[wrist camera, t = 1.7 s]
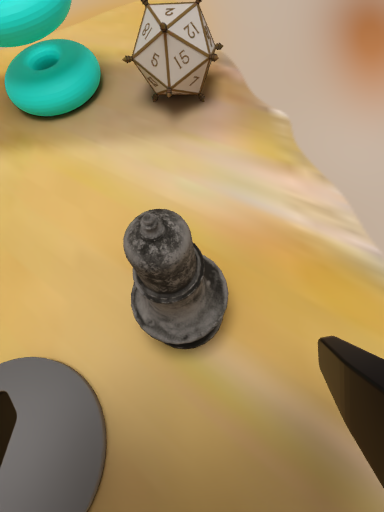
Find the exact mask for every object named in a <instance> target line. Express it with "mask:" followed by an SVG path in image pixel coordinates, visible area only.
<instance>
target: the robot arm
mask: <svg viewBox="0 0 384 512" xmlns="http://www.w3.org/2000/svg"><path fill="white" fill-rule="evenodd" d="M318 357H319V366H320V370H321V372H322V374H323V376H324V379H325V381H326V383H327V385H328V387H329V389H330V392H331V394H332V396H333V398H334V400H335V403H336V405H337V407H338V409H339V411H340V413H341V415H342V418H343V420H344V422H345V424H346V425H347V427H348V429H349V431H350V432H351V434H352V436H353V437H354V439H355V441H356V443H357V444H358V446H359V448H360V449H361V451H362V453H363V454H364V456H365V458H366V459H367V461H368V463H369V464H370V466H371V468H372V469H373V471H374V473H375V475H376V476H377V478H378V480H379V481H380V483H381V485H382V486H383V488H384V359H382V358H380V357H378V356H376V355H373V354H371V353H369V352H367V351H365V350H363V349H361V348H359V347H356V346H354V345H352V344H350V343H348V342H346V341H344V340H341V339H339V338H337V337H335V336H328V337H322V338H320V339H319V340H318ZM16 421H17V412H16V409H15V407H14V405H13V403H12V401H11V398H10V396H9V394H8V393H7V392H6V391H3V390H2V391H0V468H1V465H2V462H3V459H4V456H5V453H6V450H7V447H8V444H9V441H10V439H11V436H12V433H13V430H14V427H15V424H16Z"/></svg>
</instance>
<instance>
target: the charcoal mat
mask: <svg viewBox="0 0 384 512" xmlns="http://www.w3.org/2000/svg"><path fill="white" fill-rule="evenodd" d="M2 390H3V391H6V392H7V393H8V394H9V396H10V398H11V401H12V403H13V405H14V407H15V409H16V412H17V421H16V424H15V427H14V430H13V433H12V436H11V439H10V441H9V444H8V447H7V450H6V453H5V456H4V459H3V462H2V465H1V468H0V512H87V511H88V509H89V507H90V506H91V504H92V501H93V499H94V497H95V494H96V492H97V490H98V486H99V483H100V480H101V477H102V473H103V468H104V462H105V454H106V428H105V421H104V416H103V412H102V408H101V406H100V403H99V401H98V398H97V396H96V394H95V392H94V391H93V389H92V387H91V386H90V385H89V383H88V382H87V381H86V380H85V378H83V377H82V376H81V375H80V374H79V373H78V372H77V371H75V370H74V369H72V368H71V367H69V366H67V365H65V364H63V363H60V362H57V361H53V360H50V359H46V358H38V357H24V358H18V359H13V360H10V361H7V362H3V363H1V364H0V391H2Z"/></svg>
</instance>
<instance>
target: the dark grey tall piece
mask: <svg viewBox="0 0 384 512" xmlns="http://www.w3.org/2000/svg"><path fill="white" fill-rule="evenodd" d="M124 251H125V254H126V258H127V259H128V261H129V262H130V264H131V265H132V267H133V279H134V285H133V289H132V293H131V307H132V310H133V314H134V317H135V319H136V321H137V322H138V324H139V325H140V327H141V328H142V329H143V330H144V331H145V332H146V333H148V334H149V335H150V336H151V337H153V338H155V339H157V340H159V341H162V342H164V343H165V344H167V345H169V346H171V347H174V348H179V349H190V348H196V347H198V346H200V345H203V344H205V343H206V342H207V341H209V340H210V339H211V338H213V336H214V335H215V334H216V332H217V331H218V330H219V327H220V325H221V322H222V319H223V315H224V312H225V310H226V307H227V301H228V289H227V283H226V280H225V278H224V276H223V273H222V271H221V270H220V269H219V268H218V266H217V265H216V264H215V263H214V262H213V261H212V260H210V259H209V258H207V257H206V256H204V255H202V253H201V251H200V250H199V248H198V247H197V246H196V245H195V244H194V243H193V242H192V237H191V232H190V229H189V227H188V225H187V223H186V222H185V221H184V220H183V218H182V217H181V216H180V215H178V214H177V213H175V212H173V211H170V210H167V209H154V210H149V211H146V212H144V213H142V214H140V215H139V216H137V217H136V218H135V219H134V220H133V221H132V222H131V223H130V224H129V226H128V228H127V229H126V232H125V235H124Z"/></svg>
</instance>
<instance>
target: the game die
mask: <svg viewBox="0 0 384 512" xmlns="http://www.w3.org/2000/svg"><path fill="white" fill-rule="evenodd" d="M141 1H142V3H143V4H144V5H145V11H144V15H143V18H142V22H141V25H140V29H139V33H138V36H137V40H136V43H135V47H134V50H133V54H132V56H125V58H124V59H122V60H123V61H125V62H127V63H128V62H131V61H133V62H134V63H135V65H136V66H137V67H138V69H139V70H140V72H141V73H142V74H143V76H144V77H145V79H146V80H147V81H148V83H149V84H150V86H151V87H152V89H153V90H154V91H155V94H154V96H153V102H154V101H156V100H157V98H158V95H167V97H168V98H169V97H170V96H172V95H198V96H199V99H200V100H201V101H203V102H204V97H205V96H203V94H201V90H202V87H203V85H204V82H205V79H206V76H207V73H208V70H209V67H210V64H211V61H214V62H215V61H216V60H217V59H218V56H217V54H214V52H215V49H217V50H218V49H219V50H220V49H221V48H222V47H223V45H221V44H220V43H219V44H216V45H215V43H214V41H213V38H212V36H211V34H210V31H209V28H208V26H207V24H206V21H205V19H204V16H203V14H202V11H201V9H200V6H199V3H200V2H201V0H196V2H181V3H160V4H149V3H148V1H147V0H141Z"/></svg>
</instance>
